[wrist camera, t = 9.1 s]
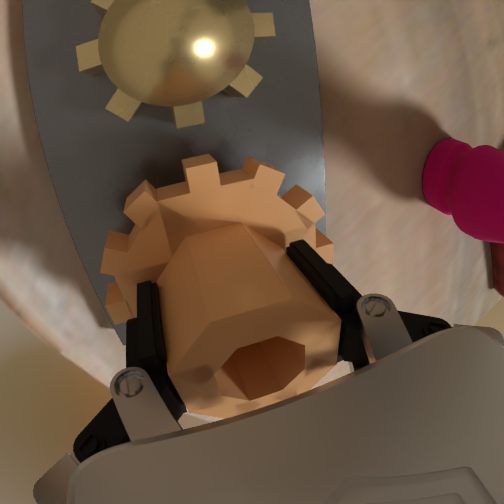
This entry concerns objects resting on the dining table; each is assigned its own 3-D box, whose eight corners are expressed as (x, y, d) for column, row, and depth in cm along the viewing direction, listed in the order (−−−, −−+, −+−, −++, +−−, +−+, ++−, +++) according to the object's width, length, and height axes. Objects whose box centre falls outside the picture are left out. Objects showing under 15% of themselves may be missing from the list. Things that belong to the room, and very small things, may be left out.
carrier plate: (32, -7, 8) (-13, -39, 3) (287, -49, 10) (341, -88, 6) (123, 329, 19) (124, 398, 14) (314, 276, 22) (357, 328, 17)
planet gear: (73, 191, 10) (15, 279, 5) (312, 136, 12) (421, 176, 7) (147, 363, 16) (161, 465, 10) (316, 313, 18) (375, 393, 12)
